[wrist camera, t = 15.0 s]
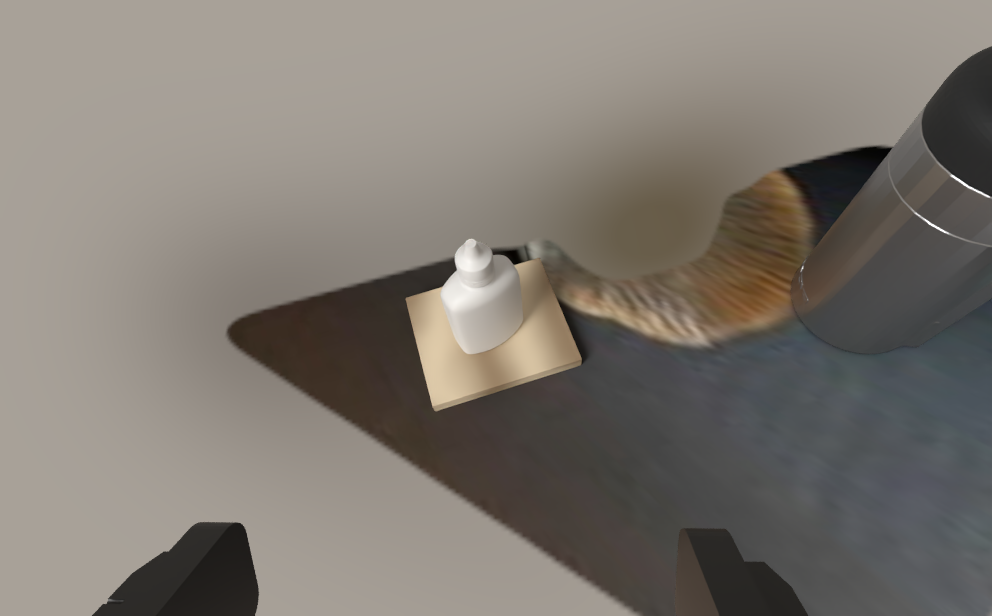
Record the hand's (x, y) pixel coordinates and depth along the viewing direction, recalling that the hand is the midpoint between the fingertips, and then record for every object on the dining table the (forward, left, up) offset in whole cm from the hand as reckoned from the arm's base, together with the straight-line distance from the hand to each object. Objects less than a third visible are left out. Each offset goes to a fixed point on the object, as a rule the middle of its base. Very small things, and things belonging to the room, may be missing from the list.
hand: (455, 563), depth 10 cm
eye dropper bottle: (+7, -17, -28) cm, 33 cm away
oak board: (+7, -17, -29) cm, 34 cm away
